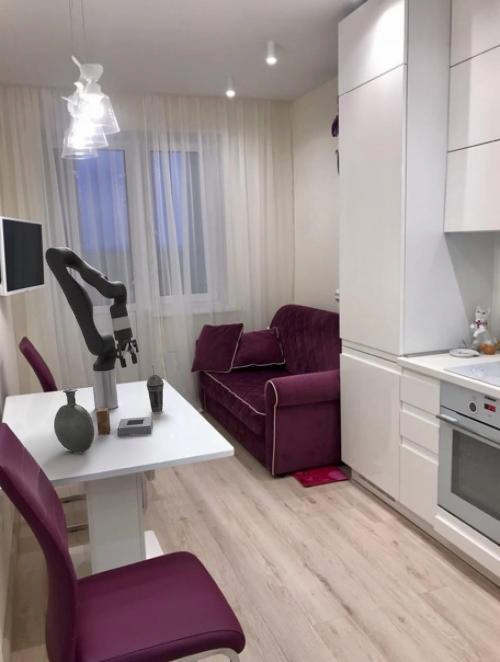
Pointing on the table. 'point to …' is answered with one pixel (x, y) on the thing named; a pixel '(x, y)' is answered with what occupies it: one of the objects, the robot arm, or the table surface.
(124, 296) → the robot arm
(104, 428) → the peg
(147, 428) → the socket
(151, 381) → the beverage cup
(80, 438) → the flask
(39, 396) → the table surface
